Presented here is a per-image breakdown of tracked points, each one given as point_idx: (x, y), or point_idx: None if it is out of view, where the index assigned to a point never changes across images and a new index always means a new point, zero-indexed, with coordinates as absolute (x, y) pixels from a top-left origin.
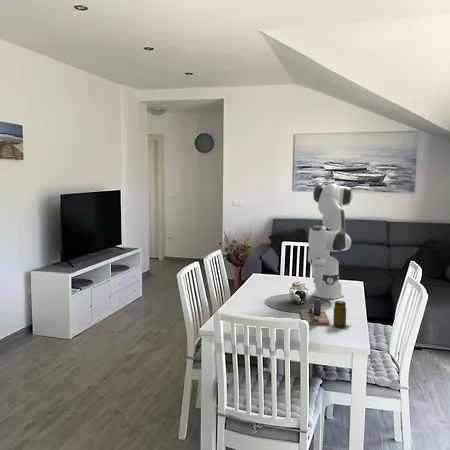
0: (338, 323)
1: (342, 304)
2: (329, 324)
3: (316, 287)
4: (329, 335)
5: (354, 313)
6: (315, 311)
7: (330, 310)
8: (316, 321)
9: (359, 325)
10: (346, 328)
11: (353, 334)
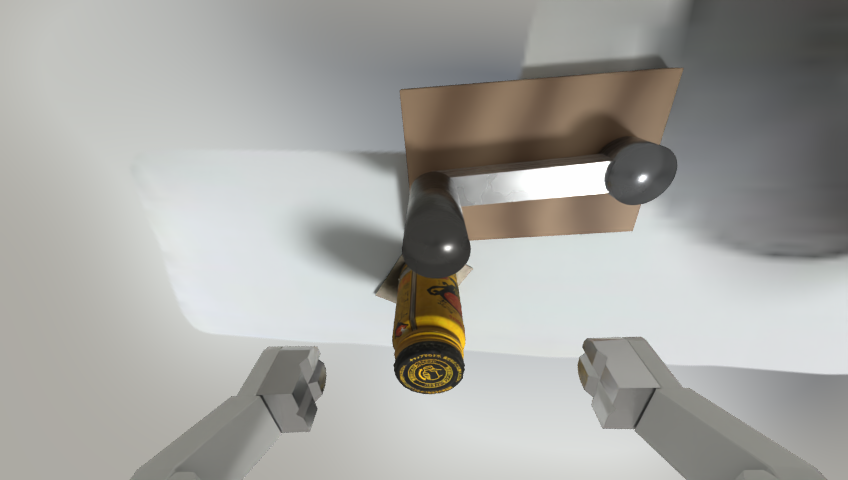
0: (399, 281)
1: (397, 377)
2: None
3: (267, 363)
4: (271, 229)
5: None
6: (410, 195)
7: (674, 251)
8: None
9: None
10: (386, 298)
11: (324, 313)
